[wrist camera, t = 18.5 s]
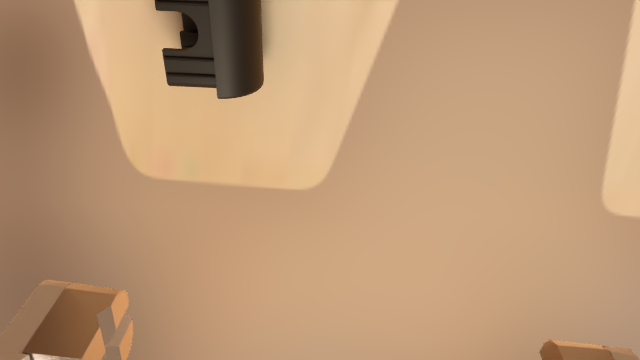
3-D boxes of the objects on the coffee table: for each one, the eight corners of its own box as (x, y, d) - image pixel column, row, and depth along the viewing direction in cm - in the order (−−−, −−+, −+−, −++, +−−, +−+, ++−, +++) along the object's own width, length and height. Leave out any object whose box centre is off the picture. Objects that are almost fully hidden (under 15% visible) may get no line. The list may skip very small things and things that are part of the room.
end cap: (270, 69, 44) (257, 102, 38) (190, 66, 44) (166, 97, 39) (265, -54, 38) (250, -38, 33) (175, -57, 39) (144, -42, 33)
